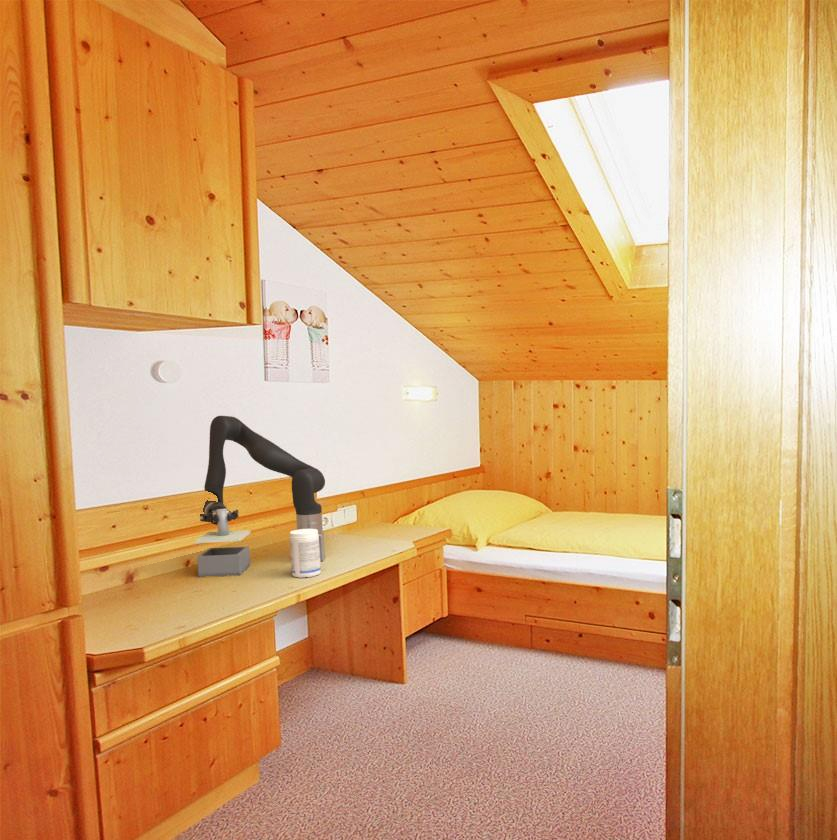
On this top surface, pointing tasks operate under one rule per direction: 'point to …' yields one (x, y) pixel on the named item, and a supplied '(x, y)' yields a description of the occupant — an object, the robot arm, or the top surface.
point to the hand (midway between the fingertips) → (223, 518)
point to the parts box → (223, 561)
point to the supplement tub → (305, 553)
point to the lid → (223, 531)
